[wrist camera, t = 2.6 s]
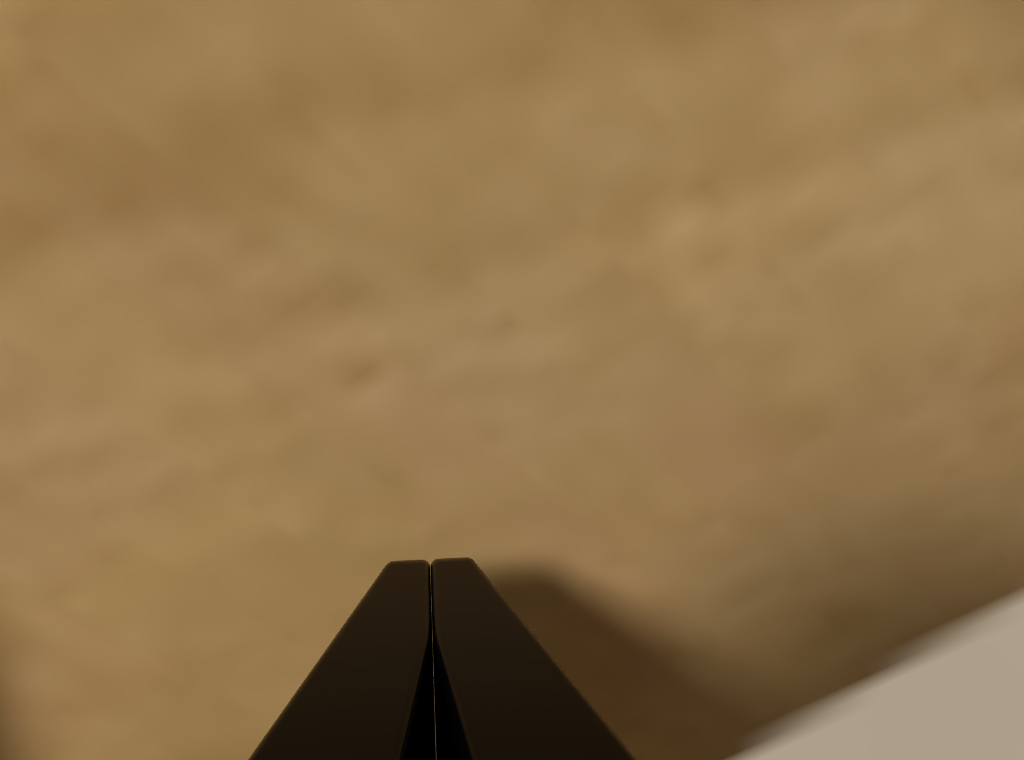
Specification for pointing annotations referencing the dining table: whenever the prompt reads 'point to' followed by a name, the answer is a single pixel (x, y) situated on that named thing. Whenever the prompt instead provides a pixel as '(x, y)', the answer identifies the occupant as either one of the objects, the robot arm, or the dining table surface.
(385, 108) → the dining table surface
